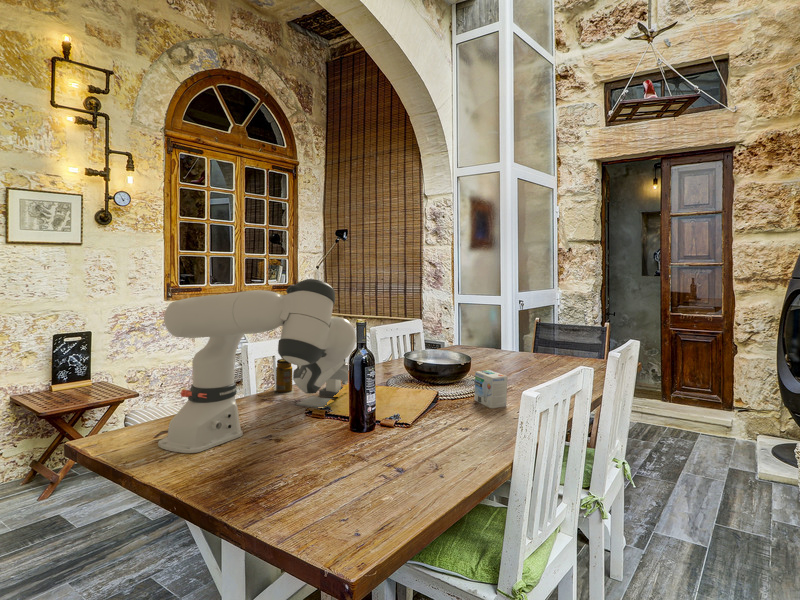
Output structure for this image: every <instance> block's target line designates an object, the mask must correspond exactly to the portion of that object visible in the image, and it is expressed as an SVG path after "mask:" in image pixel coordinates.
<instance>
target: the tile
mask: <svg viewBox="0 0 800 600" xmlns="http://www.w3.org/2000/svg"><path fill="white" fill-rule="evenodd" d="M330 399H332V397H324V396H314V395H311V396H309V397H307V398H304V399H303V400H300V401H298V402H297V403H295V405H296V406H300V407H307V408H313V409H319V408H318V407H324V406H325V405H327V402H328V401H329V400H330ZM324 408H325V407H324Z"/></svg>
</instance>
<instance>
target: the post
mask: <svg viewBox="0 0 800 600" xmlns="http://www.w3.org/2000/svg"><path fill="white" fill-rule="evenodd" d="M325 387H326V391H332V392H338V391H339V390H341V387H342V380H336V379H328V380H327V381H326V382H325Z"/></svg>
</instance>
